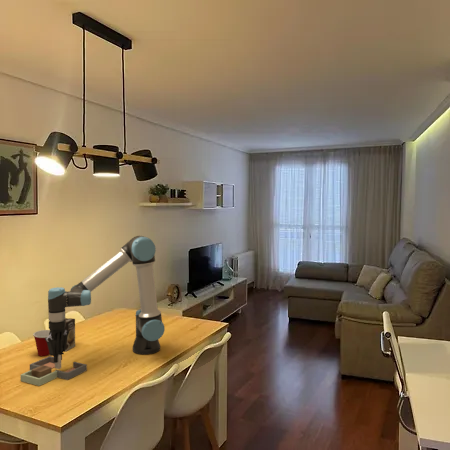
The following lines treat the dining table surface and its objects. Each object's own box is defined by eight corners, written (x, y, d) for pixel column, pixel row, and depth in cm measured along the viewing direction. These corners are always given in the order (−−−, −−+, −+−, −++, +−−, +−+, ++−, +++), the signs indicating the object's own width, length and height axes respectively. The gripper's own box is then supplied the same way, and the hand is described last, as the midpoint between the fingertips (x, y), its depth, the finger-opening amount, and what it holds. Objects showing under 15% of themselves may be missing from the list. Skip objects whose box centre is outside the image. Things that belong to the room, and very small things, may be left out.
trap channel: (86, 370, 193) (86, 364, 193) (49, 388, 173) (49, 382, 173) (49, 361, 204) (49, 356, 204) (10, 378, 184) (10, 371, 184)
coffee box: (66, 351, 218) (66, 322, 218) (55, 350, 220) (55, 322, 219) (75, 346, 227) (75, 318, 227) (65, 345, 228) (65, 317, 228)
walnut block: (51, 376, 186) (51, 367, 186) (40, 381, 181) (40, 372, 181) (42, 374, 189) (42, 365, 189) (31, 379, 183) (31, 369, 183)
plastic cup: (41, 359, 206) (41, 337, 206) (29, 355, 212) (28, 333, 212) (59, 353, 216) (59, 331, 215) (47, 349, 221) (47, 328, 221)
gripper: (61, 315, 199) (62, 362, 200) (40, 322, 187) (41, 371, 188) (73, 317, 196) (74, 364, 197) (51, 324, 184) (52, 374, 185)
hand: (58, 368), depth 192 cm, fingers closed
